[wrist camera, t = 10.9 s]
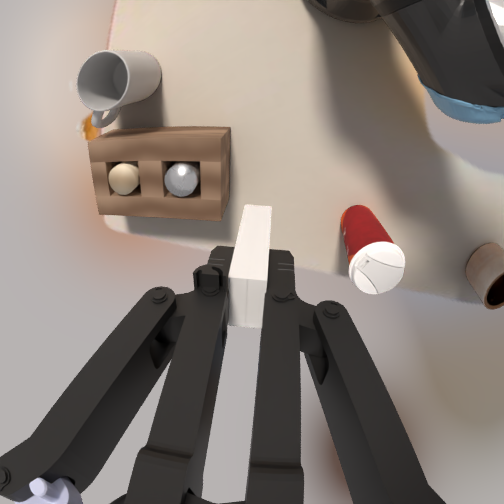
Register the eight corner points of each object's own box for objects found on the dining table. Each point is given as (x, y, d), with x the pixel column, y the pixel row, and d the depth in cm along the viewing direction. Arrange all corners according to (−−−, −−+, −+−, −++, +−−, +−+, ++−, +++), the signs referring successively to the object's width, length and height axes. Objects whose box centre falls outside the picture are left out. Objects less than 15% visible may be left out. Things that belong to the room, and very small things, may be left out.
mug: (125, 45, 36) (87, 43, 27) (170, 60, 37) (140, 59, 28) (100, 110, 42) (62, 124, 33) (142, 127, 44) (109, 145, 35)
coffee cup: (324, 226, 51) (337, 281, 39) (354, 189, 47) (379, 236, 35) (360, 248, 53) (380, 305, 41) (389, 215, 49) (420, 267, 36)
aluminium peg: (180, 150, 45) (163, 165, 38) (208, 150, 45) (195, 166, 38) (181, 176, 48) (165, 195, 41) (208, 177, 47) (196, 197, 41)
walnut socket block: (112, 129, 44) (87, 142, 37) (230, 127, 43) (221, 138, 36) (120, 194, 51) (99, 214, 44) (229, 198, 50) (220, 221, 43)
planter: (507, 244, 49) (529, 269, 41) (488, 283, 55) (506, 310, 47) (476, 238, 49) (499, 265, 41) (457, 280, 55) (474, 310, 47)
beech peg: (129, 150, 45) (106, 166, 39) (154, 150, 45) (133, 165, 39) (132, 175, 48) (110, 194, 41) (156, 175, 48) (137, 195, 41)
